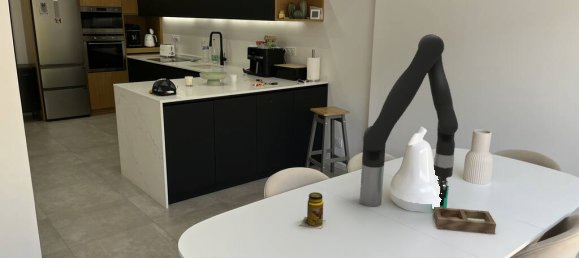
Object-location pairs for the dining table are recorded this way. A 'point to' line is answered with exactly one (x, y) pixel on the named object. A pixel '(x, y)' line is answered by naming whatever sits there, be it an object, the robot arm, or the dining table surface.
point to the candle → (445, 199)
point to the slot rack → (464, 220)
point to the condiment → (314, 211)
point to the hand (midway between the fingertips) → (439, 202)
